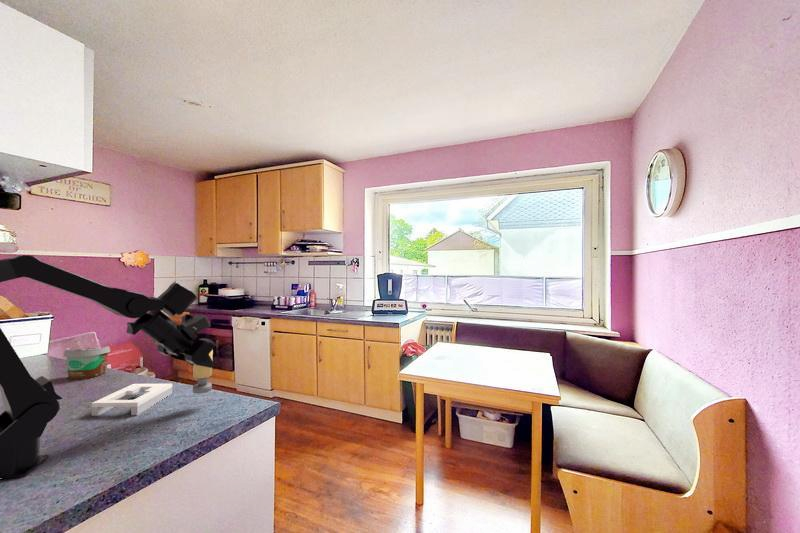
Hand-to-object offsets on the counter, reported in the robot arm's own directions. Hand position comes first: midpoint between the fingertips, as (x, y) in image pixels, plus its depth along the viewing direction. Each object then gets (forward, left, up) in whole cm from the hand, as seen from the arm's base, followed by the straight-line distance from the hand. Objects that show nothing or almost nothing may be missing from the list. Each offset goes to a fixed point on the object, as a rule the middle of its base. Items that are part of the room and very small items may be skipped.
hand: (208, 364), depth 89 cm
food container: (+36, +44, -11) cm, 58 cm away
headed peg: (-1, +1, -7) cm, 7 cm away
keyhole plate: (+6, +19, -11) cm, 23 cm away
